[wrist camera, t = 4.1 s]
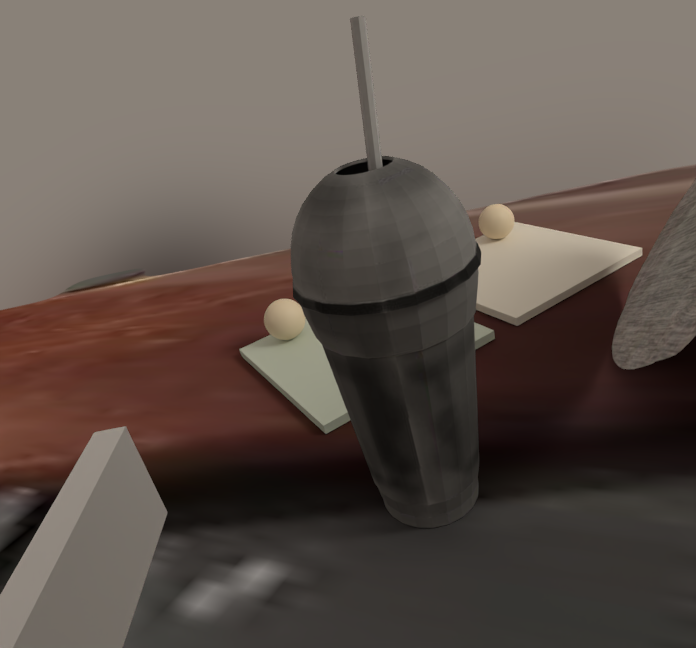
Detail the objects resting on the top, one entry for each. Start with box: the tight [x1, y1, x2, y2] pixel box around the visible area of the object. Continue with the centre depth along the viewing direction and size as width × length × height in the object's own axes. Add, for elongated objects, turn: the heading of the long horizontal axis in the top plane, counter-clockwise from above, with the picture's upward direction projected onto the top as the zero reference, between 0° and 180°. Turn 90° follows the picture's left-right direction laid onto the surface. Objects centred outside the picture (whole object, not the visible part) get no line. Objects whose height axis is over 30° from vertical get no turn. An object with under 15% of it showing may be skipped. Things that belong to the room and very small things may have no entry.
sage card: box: [239, 299, 495, 434], centre depth 40 cm, size 13×13×4 cm
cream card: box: [475, 204, 642, 326], centre depth 45 cm, size 13×13×4 cm
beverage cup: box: [291, 16, 481, 528], centre depth 23 cm, size 7×7×20 cm
